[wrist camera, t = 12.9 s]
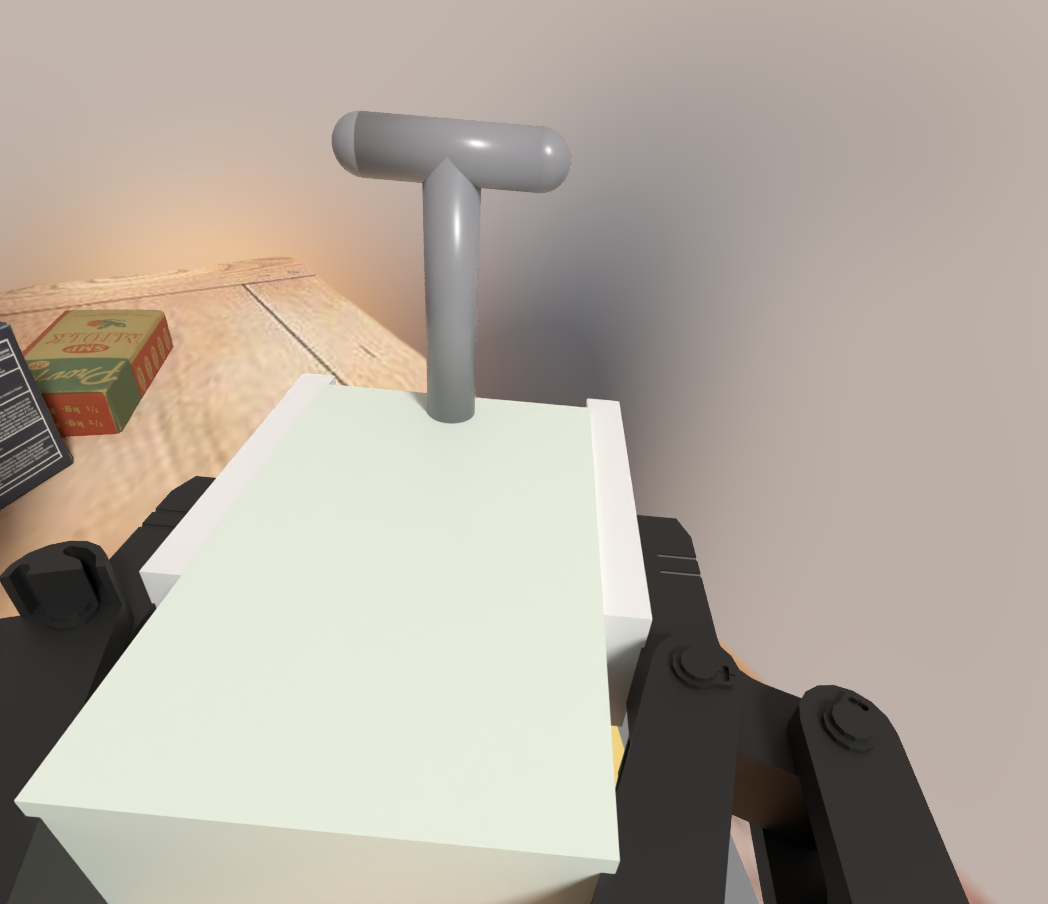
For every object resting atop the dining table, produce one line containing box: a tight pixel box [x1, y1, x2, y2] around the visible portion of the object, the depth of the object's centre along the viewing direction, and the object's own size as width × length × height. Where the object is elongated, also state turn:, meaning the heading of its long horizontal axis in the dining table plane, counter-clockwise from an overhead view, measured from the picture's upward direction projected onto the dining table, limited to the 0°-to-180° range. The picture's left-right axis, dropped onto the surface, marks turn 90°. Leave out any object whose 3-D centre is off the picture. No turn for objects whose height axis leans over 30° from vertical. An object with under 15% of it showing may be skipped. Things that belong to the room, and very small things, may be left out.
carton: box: [22, 310, 174, 437], centre depth 49 cm, size 8×16×4 cm, turn 12°
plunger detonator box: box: [14, 111, 620, 904], centre depth 10 cm, size 6×9×14 cm, turn 176°
